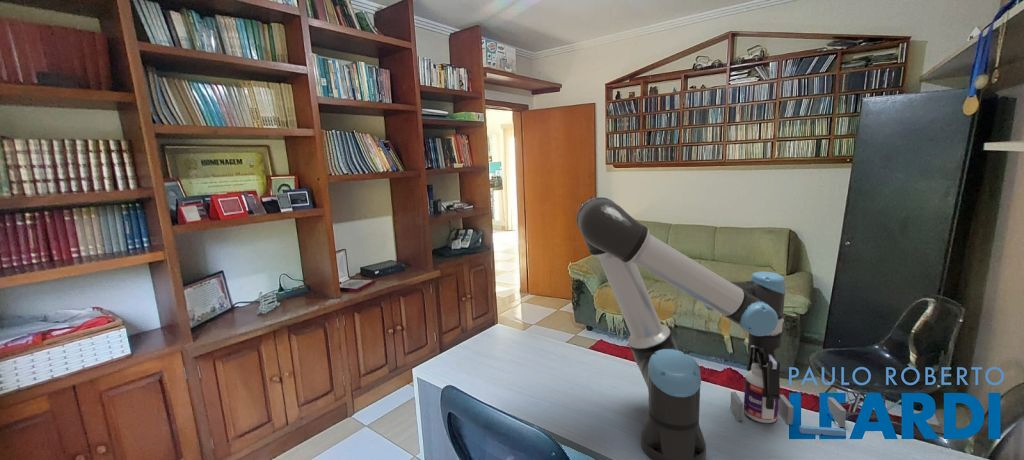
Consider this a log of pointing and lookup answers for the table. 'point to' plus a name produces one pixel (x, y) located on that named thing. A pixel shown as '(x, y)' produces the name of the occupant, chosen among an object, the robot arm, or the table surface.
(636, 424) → the table surface
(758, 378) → the pill bottle
